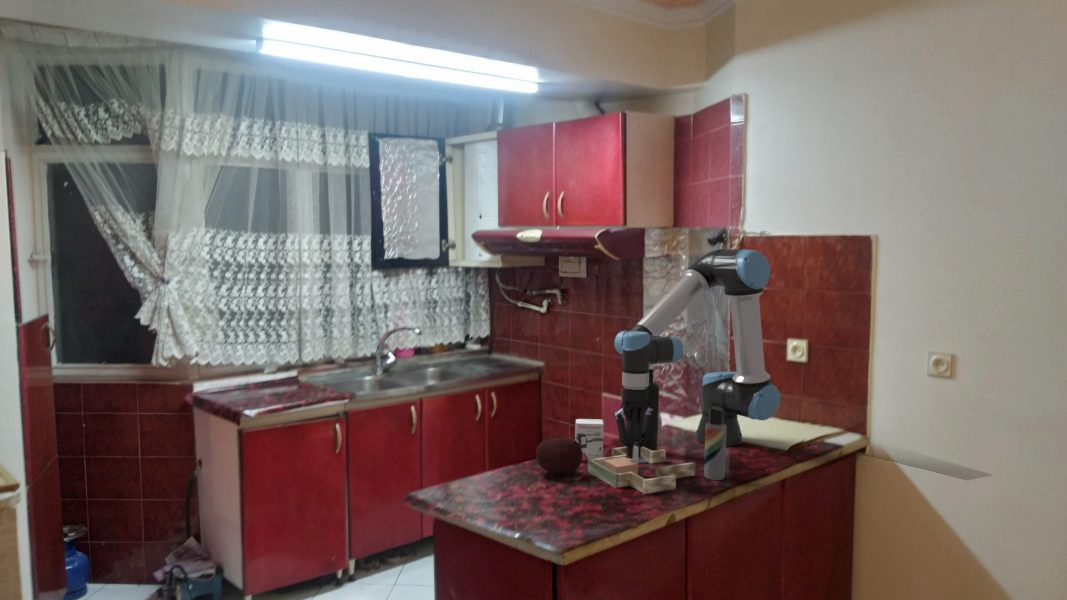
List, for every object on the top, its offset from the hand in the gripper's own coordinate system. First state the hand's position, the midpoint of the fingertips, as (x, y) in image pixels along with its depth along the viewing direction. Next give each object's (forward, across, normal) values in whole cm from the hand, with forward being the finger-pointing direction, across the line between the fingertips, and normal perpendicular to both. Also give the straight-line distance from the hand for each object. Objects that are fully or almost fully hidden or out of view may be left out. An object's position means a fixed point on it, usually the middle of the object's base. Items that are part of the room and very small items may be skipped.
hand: (633, 468), depth 204 cm
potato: (+2, +19, -9) cm, 21 cm away
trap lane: (+2, -3, 0) cm, 3 cm away
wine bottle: (+2, -17, -17) cm, 24 cm away
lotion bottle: (+2, -20, +11) cm, 23 cm away
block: (+2, +4, 0) cm, 5 cm away
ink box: (+2, +4, -18) cm, 19 cm away
